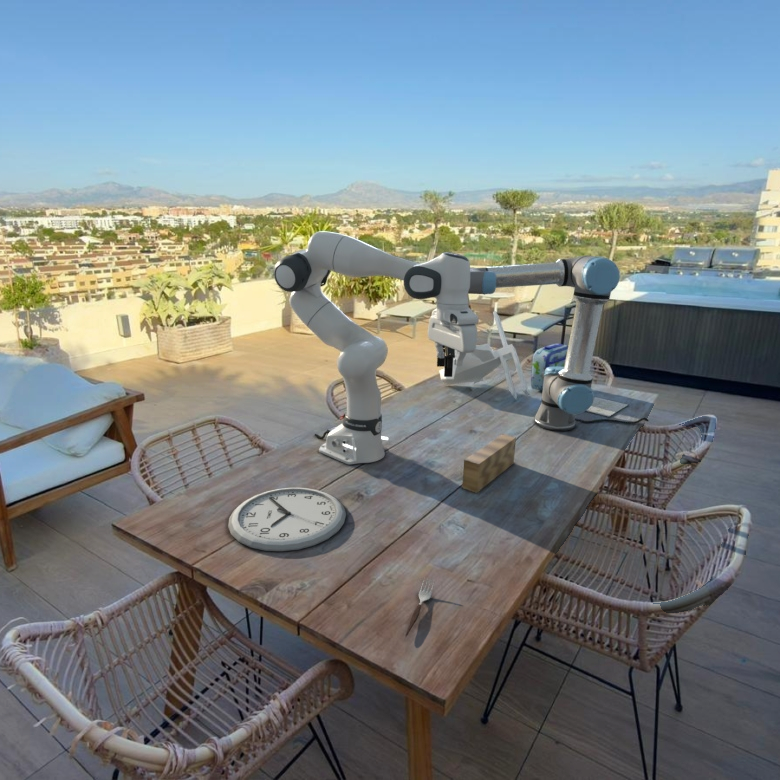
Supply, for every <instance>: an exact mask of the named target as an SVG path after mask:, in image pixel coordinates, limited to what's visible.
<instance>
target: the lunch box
mask: <svg viewBox="0 0 780 780" xmlns="http://www.w3.org/2000/svg"><path fill="white" fill-rule="evenodd" d="M568 345H569V344H562V343H553V344H550V345H547V346H546V345H545V346H544V347H541V348H538V349H537V350H536V351H535V352H534V354H533V357H532V362H531V371H530V372H531V374H530V387H531V389H533V390H539V391H543V382H544V374H545V369H546V368H548V367H564V366H565V361H566V355H567V350H568Z"/></svg>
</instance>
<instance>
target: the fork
mask: <svg viewBox="0 0 780 780" xmlns="http://www.w3.org/2000/svg"><path fill="white" fill-rule="evenodd" d="M425 579H426V577H424V578H423V581H422V584H421V587H420V590H419V592H418V598H419V599H418V600H419V603H418V605H417V606H416V608H415V609H414V611H413V612H412V615H411V617H410V620H409V623H408V627H407V630H406V632H405V637H407V636H408V635H409V633H410V631H411V629H412V628H413V626H414V625H415V623H416V622H417V620H418V617H419V615H420V611H421V608H422V605H423V603H424V602H426V601H429V600H430V599H431V597H432V596H433V595H432V594H433V590H434V585H435V579H433V582H432V580H429V578H427V579H426V582H425ZM428 581H429V584H428ZM431 583H432V585H431ZM424 584H425V585H424Z"/></svg>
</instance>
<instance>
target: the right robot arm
mask: <svg viewBox="0 0 780 780" xmlns="http://www.w3.org/2000/svg"><path fill="white" fill-rule="evenodd" d="M620 273H621V272H620V269H619V268H618V266H617V264H616V263H615V262H614V261H613V260H612V259H609V258H607V257H604V256H594V255H580V256H576V257H575V256H574V257H568V258H560V259H557V261H555V262H542V263H541V262H540V263H530V264H529V263H528V264H515V265H514V264H513V265H500V266H485V267H472V266H470V289H469V291H468V295H484V296H485V295H492V294H494V293H495V291H496V289H500V288H516V287H517V288H518V287H529V286H530V287H531V286H533V287H534V286H547V285H556V286H557V287H561V288H562V287H571V288H574V290H573V295H572V296H573V298H574V299H575V300H576V303H575V309H574V314H573V320H572V325H571V329H570V335H569V336H570V337H569V341H568V344H567V345H568V350H567V355H566V361H565V366H564V367H548V368H546V369H545V374H544V382H543V390H542V394H541V402H540V405H539V407H538V410H537V411H536V413H535V416H534V424H535V425H536V426H537V427H539V428H542V429H544V430H549V431H556V432H567V431H572V430H574V429H575V428H576V422H579V423H585V424H591V423H598V422H612V423H619V424H625V425H635V424H638V423H640V422H642V421H646V422H650V421H649V419H648V418H646V417H642V418H640V419H638V420H636V421H625V420H618V419H612V418H599V419H594V420H584V419H580V418H575V417H576V416H575V415H581V414H583V413H585V412H587V411H586V410H588V409H589V408H590V407H591V405H592V403H593V400H594V397H595V395H594V392H593V390H592V384H593V379H594V377H593V376H592V374H591V373H590V371H591V366H592V361H593V356H594V353H595V352H594V351H595V347H596V340H597V336H598V332H599V327H600V323H601V318H602V312H603V308H604V305H605V304H606V303H607V302H609V301H610V298H611V293H612V292H613V291H614V290H615V289H616V288H617V287H618V285H619V282H620V277H621V274H620ZM434 304H435V305H437V300H435V301H434ZM442 347H443V352H445V355H444V358H441V359H440V358H438V357H437V356H436V367H439V368H440V367H444V368H443V369H444V377H452V372H453V358H455V349H452V348H450V347H447V346H444V345H443V346H442Z"/></svg>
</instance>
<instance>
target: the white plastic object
mask: <svg viewBox="0 0 780 780" xmlns="http://www.w3.org/2000/svg"><path fill="white" fill-rule="evenodd" d="M492 315H493V319H494V321H495V324H496V325H495V326H496V328H497V332H498V335H499V338H500V342H501V345H502V347H500V348H498V349H496V350H495V349H493V348H492V347H491V346H490V344H489V343H488V342H487V343H483V344H479V345H476V349H475V351H474V352H471V353H466V355H465V357H464V359H463V364H462V366H456V365H455V364H454V363H455V362H454V360H455V359H457V356H458V354H457V350H455V358H453V372H452V377H444V368H442V369H440V370H439V371H438V372H439V376H440V381H442V383H443V384H444V385H445V386H449V385H458V384H467V383H468V384H469V383H473V384H477V383H480V382H482V381H484V378H485V377H486V376H487V375H489V374H490V373H492V372H494V371H495V370H496V369H497V368H499V367H500V366H502V370H503V373H504V376H505V380H506V383H507V386H508V390H509V393H510V394H511V395H512V397H513V398H514V399H515V400H517V392H516V391H517V390H516V388H515V385H514V381H513V378H512V375H511V371H510V369H509V365H508V361H510V360H513V363H514V366H515V369H516V372H517V376H518V380H519V382H520V385H521V389H522V391H523V393H524V395H525V396H526V397H528V396H531V395H530V390H529V388H528V387H529V386H528V384H527V381H526V378H525V375H524V371H523V369H522V368H523V367H522V366H521V362H520V359H519V355H518V352H517V349H516V347H515V346H514V345H513V343H511V344H508V341H507V337H506V334H505V331H504V328H503V325H502V321H501V318H500V315H499V314H498V312H497V311H496V310H495V311H492Z"/></svg>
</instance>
